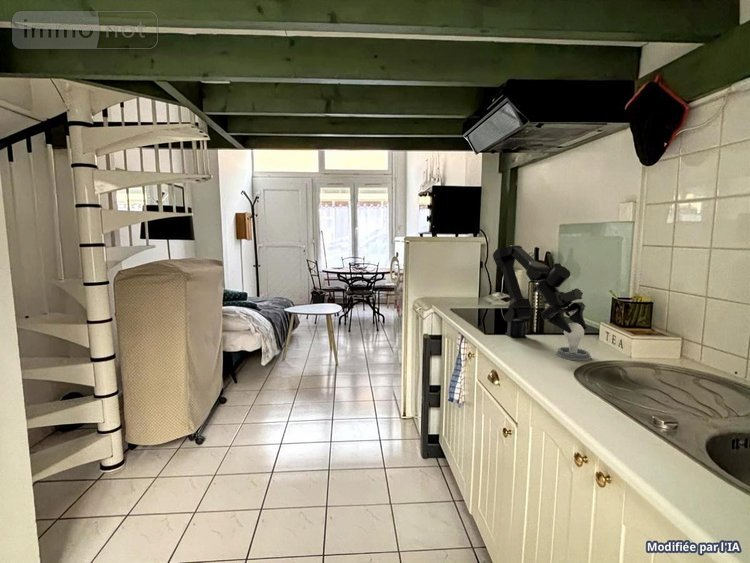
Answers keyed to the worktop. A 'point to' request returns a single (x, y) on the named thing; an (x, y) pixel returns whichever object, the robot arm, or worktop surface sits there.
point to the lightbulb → (574, 336)
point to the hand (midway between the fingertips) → (578, 330)
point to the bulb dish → (579, 356)
